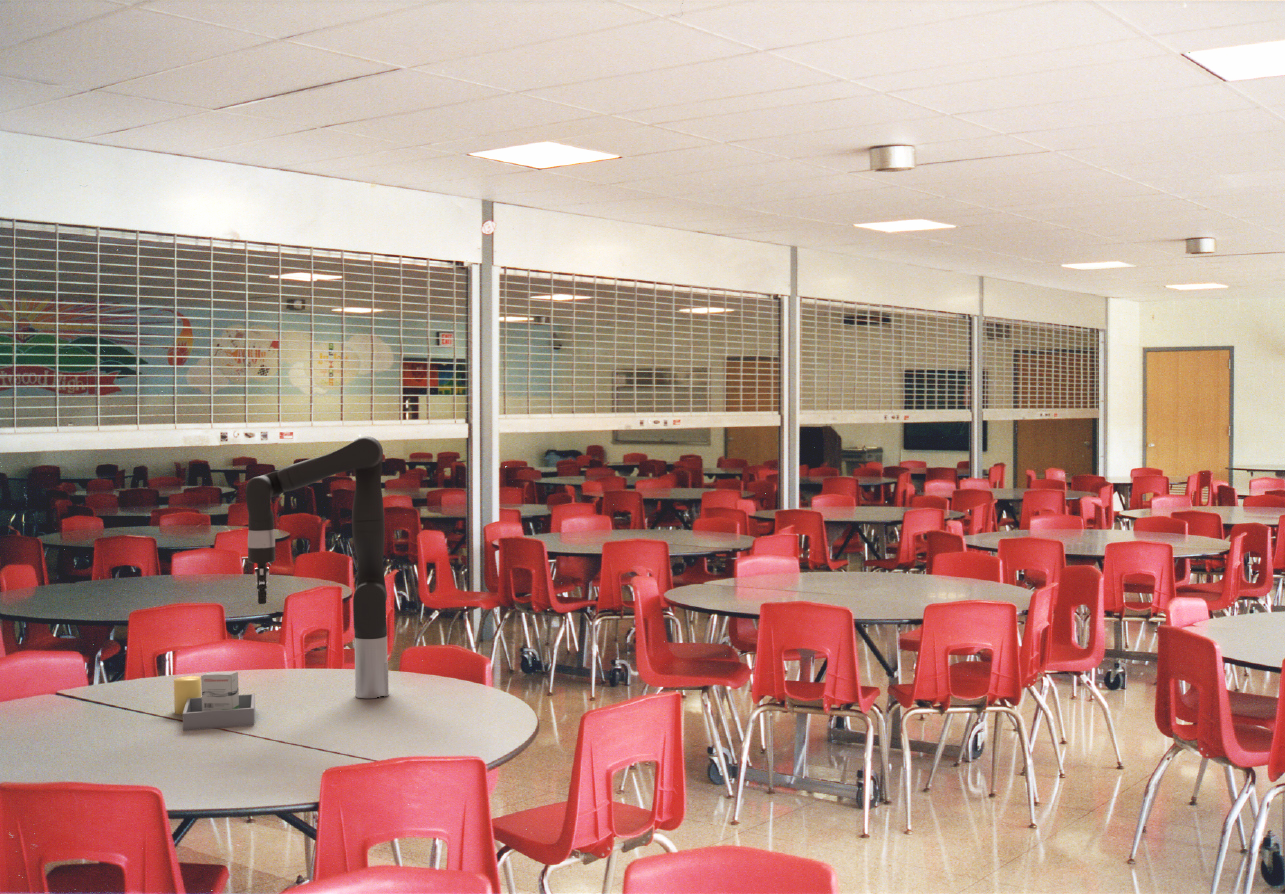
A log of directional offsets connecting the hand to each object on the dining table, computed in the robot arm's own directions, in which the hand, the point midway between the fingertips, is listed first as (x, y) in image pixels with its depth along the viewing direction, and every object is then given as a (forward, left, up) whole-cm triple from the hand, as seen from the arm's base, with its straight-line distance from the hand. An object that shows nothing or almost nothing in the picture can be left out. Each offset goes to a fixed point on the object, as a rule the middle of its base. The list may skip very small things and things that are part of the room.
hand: (262, 601), depth 350 cm
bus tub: (+11, +22, -28) cm, 37 cm away
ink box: (+11, +22, -28) cm, 37 cm away
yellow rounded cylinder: (+20, +9, -28) cm, 36 cm away
